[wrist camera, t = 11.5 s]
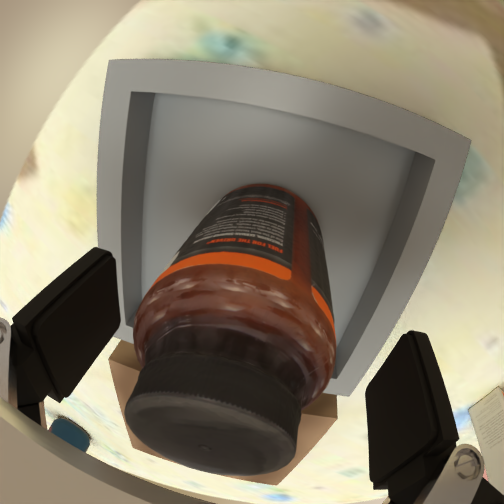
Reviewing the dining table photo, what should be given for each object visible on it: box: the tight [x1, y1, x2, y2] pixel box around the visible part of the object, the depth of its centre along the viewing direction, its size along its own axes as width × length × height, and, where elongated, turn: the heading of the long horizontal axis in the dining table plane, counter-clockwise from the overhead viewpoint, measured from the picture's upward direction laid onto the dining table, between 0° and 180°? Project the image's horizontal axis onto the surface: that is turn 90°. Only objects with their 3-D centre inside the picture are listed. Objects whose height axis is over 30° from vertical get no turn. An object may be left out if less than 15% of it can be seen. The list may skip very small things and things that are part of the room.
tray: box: [97, 59, 471, 396], centre depth 15 cm, size 16×16×3 cm
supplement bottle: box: [124, 184, 336, 476], centre depth 10 cm, size 6×6×11 cm
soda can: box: [48, 417, 90, 453], centre depth 30 cm, size 7×7×12 cm
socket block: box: [108, 340, 337, 485], centre depth 23 cm, size 16×16×4 cm
